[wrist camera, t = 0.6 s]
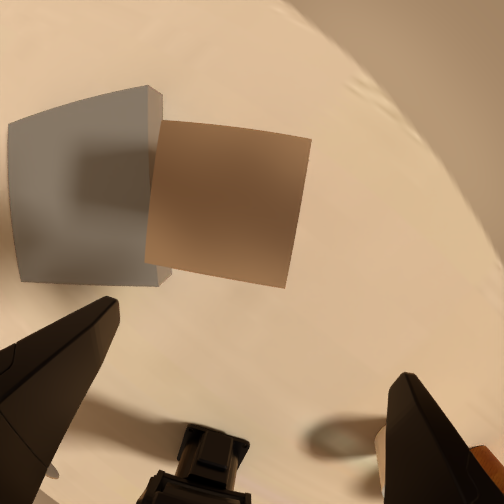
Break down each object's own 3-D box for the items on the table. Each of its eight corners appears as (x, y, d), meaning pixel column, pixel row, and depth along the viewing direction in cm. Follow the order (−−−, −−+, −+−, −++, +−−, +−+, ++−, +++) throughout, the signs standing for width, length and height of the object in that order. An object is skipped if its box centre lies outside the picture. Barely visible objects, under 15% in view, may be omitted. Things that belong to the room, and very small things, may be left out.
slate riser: (171, 274, 25) (158, 286, 22) (40, 272, 26) (21, 281, 23) (162, 94, 22) (148, 85, 19) (29, 126, 23) (8, 123, 20)
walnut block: (281, 228, 24) (284, 288, 11) (214, 217, 24) (144, 262, 11) (293, 160, 22) (311, 139, 10) (224, 149, 23) (161, 120, 10)
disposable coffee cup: (499, 424, 27) (540, 485, 15) (494, 461, 28) (524, 516, 17) (435, 460, 28) (465, 532, 16) (437, 492, 30) (459, 553, 18)
